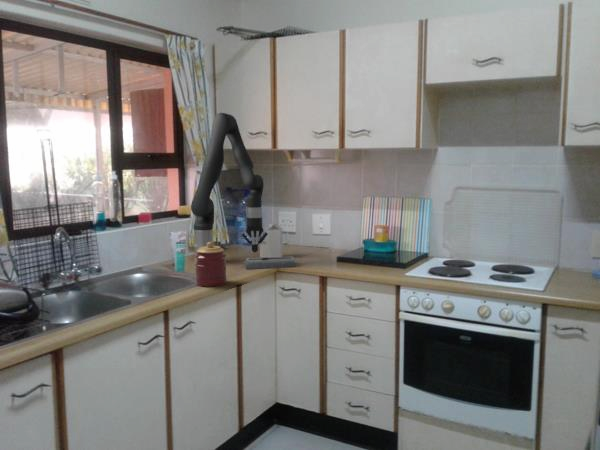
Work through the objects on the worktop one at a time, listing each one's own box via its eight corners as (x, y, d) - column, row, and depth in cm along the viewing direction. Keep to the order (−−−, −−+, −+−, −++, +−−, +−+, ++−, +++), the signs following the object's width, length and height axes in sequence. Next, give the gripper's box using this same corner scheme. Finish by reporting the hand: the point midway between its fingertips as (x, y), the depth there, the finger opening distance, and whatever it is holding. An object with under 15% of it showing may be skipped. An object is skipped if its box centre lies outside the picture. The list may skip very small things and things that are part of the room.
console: (246, 269, 247) (245, 262, 247) (243, 264, 259) (243, 257, 258) (295, 267, 252) (295, 259, 251) (291, 262, 263) (291, 255, 263)
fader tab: (261, 262, 252) (260, 244, 250) (260, 260, 256) (259, 242, 255) (269, 262, 252) (269, 244, 251) (268, 260, 257) (267, 242, 256)
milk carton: (282, 256, 280) (282, 221, 278) (280, 258, 273) (280, 222, 270) (269, 256, 281) (269, 221, 278) (267, 258, 274) (266, 222, 271)
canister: (212, 288, 210) (211, 245, 208) (188, 284, 217) (187, 242, 215) (233, 282, 221) (232, 240, 219) (209, 278, 228) (208, 238, 226)
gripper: (241, 217, 246) (241, 254, 248) (269, 216, 248) (269, 252, 250) (239, 216, 253) (240, 251, 255) (266, 215, 256) (267, 250, 258)
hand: (254, 252), depth 253 cm, fingers closed
